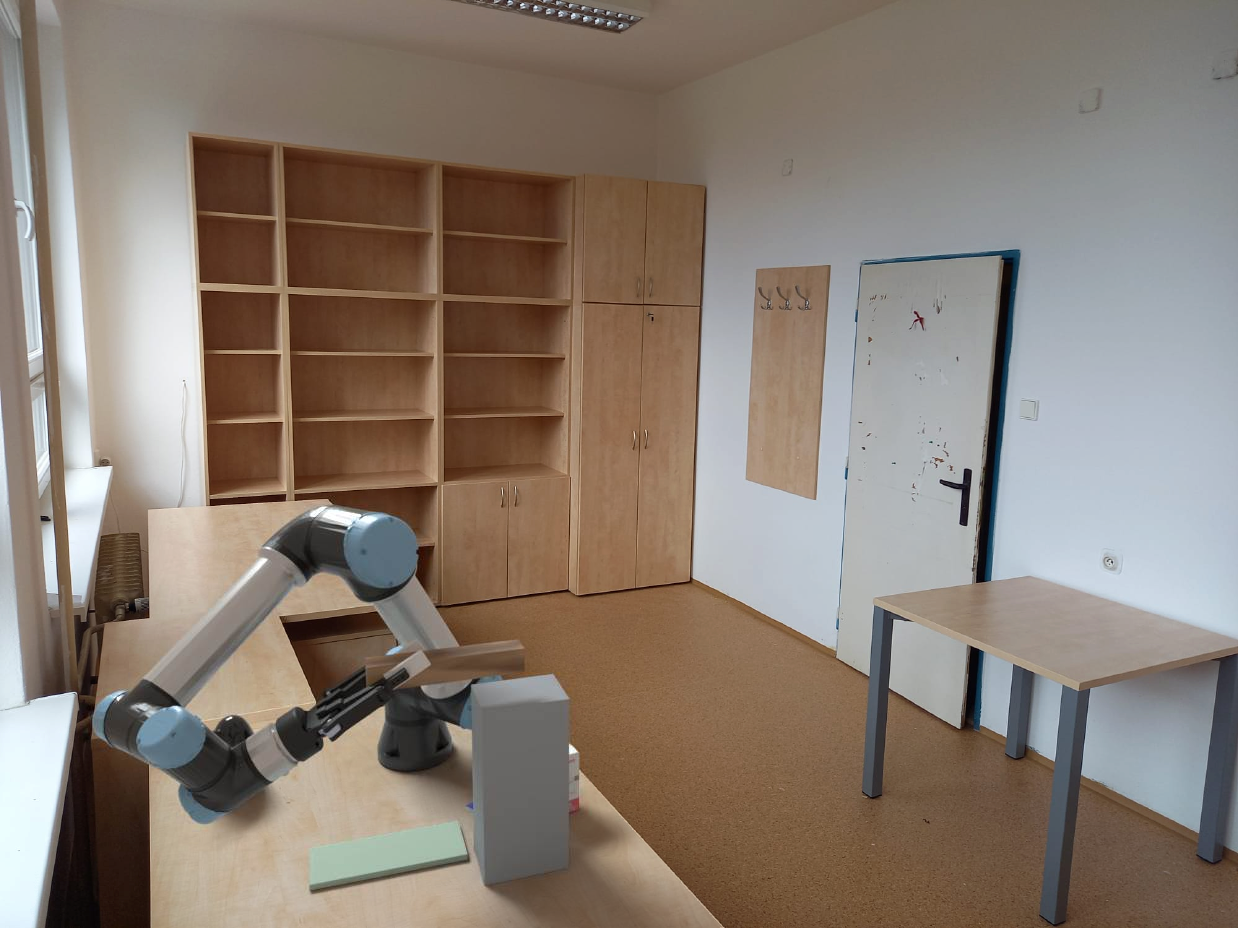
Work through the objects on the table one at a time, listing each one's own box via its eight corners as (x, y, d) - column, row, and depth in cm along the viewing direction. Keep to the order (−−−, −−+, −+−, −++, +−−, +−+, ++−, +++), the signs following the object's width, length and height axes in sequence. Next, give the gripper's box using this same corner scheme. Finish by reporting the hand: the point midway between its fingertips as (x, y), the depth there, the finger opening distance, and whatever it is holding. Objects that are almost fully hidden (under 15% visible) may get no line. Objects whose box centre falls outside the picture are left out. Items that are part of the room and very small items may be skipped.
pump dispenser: (193, 797, 160) (187, 722, 157) (238, 771, 169) (233, 699, 167) (232, 811, 156) (226, 734, 153) (276, 783, 165) (272, 710, 162)
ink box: (569, 797, 162) (569, 739, 160) (580, 810, 158) (580, 751, 155) (526, 809, 158) (526, 750, 156) (537, 823, 153) (537, 762, 151)
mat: (310, 852, 144) (309, 847, 144) (458, 825, 152) (458, 820, 152) (309, 890, 135) (309, 884, 135) (467, 859, 143) (467, 853, 143)
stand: (473, 848, 146) (471, 684, 141) (553, 833, 150) (553, 673, 145) (484, 885, 137) (482, 711, 131) (568, 867, 141) (569, 698, 136)
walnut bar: (366, 682, 131) (364, 657, 130) (518, 662, 139) (518, 639, 138) (367, 692, 127) (366, 667, 127) (524, 672, 135) (524, 648, 135)
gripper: (302, 733, 136) (429, 649, 140) (301, 789, 120) (445, 692, 125) (274, 699, 133) (405, 614, 138) (270, 751, 117) (417, 653, 122)
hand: (423, 651), depth 131 cm, fingers closed on walnut bar, 4 cm apart
